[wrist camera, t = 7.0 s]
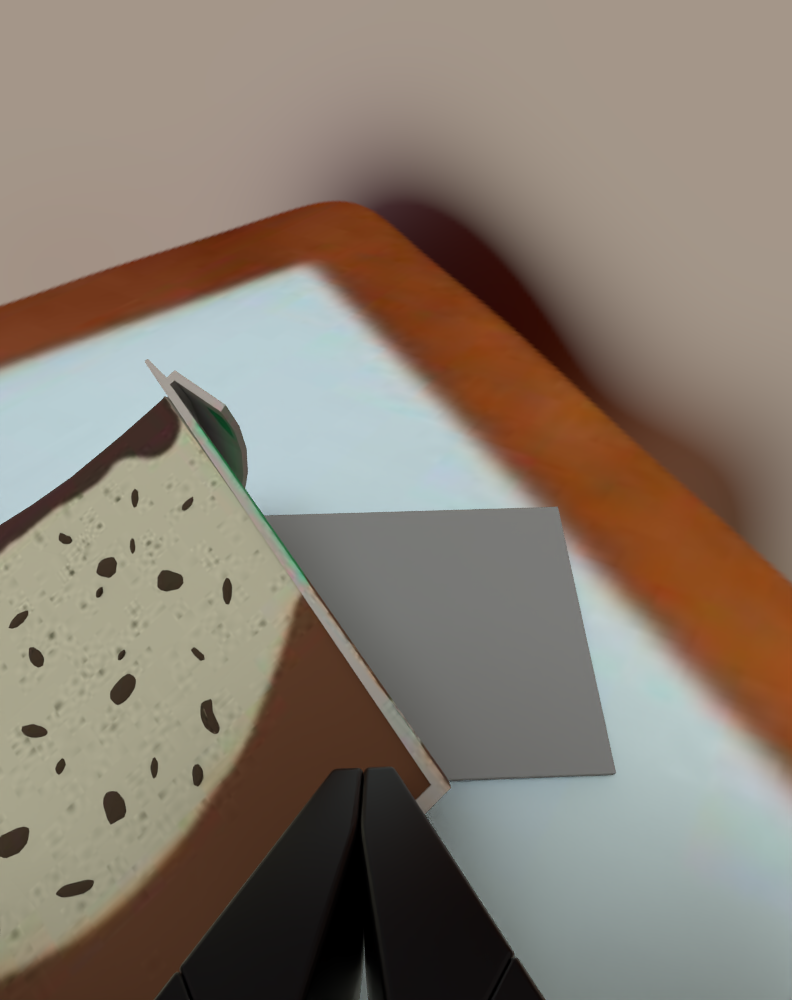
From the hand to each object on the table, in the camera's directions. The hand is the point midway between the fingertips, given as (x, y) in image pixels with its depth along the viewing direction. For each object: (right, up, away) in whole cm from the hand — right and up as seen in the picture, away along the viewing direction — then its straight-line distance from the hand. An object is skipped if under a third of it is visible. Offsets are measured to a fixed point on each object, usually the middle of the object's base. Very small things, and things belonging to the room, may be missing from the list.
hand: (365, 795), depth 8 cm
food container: (-2, -5, +4) cm, 6 cm away
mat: (0, 0, +9) cm, 9 cm away
